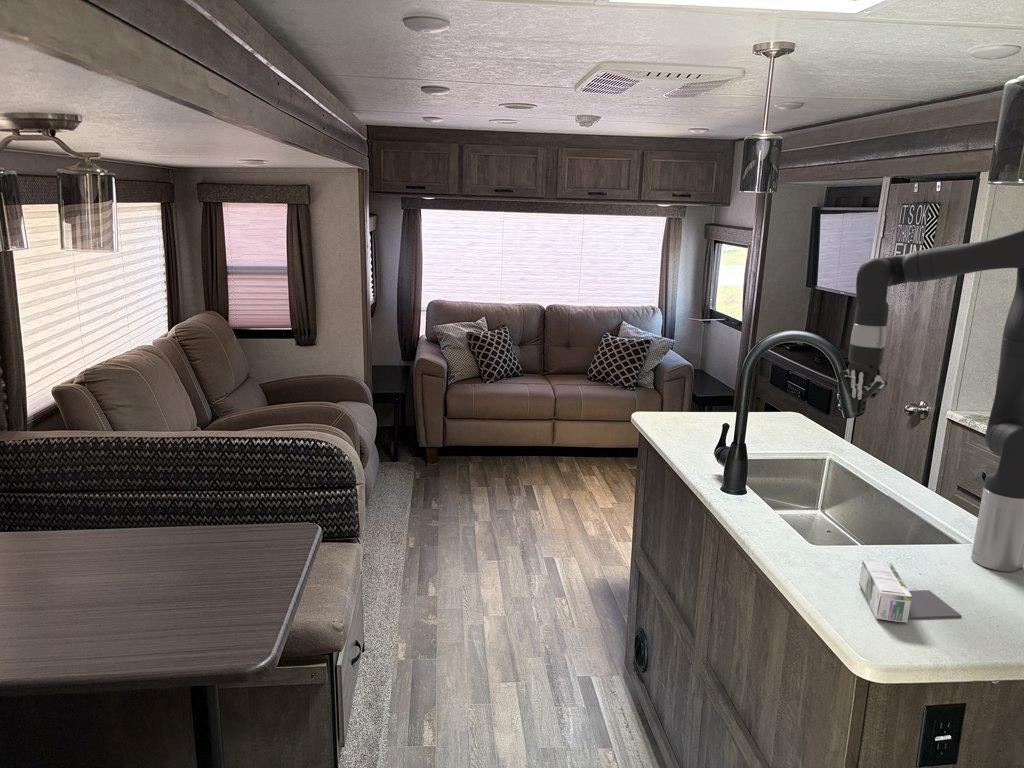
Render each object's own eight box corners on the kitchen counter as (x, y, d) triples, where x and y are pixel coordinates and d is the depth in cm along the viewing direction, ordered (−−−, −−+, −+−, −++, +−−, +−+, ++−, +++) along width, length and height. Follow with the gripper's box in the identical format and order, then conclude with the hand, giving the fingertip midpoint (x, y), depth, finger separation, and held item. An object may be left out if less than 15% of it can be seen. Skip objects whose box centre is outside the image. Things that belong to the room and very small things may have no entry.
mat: (928, 591, 157) (929, 590, 157) (961, 617, 148) (961, 615, 148) (865, 593, 156) (865, 591, 156) (893, 619, 146) (893, 617, 146)
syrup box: (887, 587, 158) (909, 624, 144) (857, 584, 159) (876, 620, 145) (891, 562, 157) (914, 596, 143) (861, 559, 158) (881, 592, 144)
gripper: (834, 339, 184) (825, 407, 188) (877, 348, 172) (867, 422, 176) (858, 338, 187) (849, 405, 191) (902, 347, 175) (891, 419, 179)
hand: (858, 413), depth 184 cm, fingers closed
